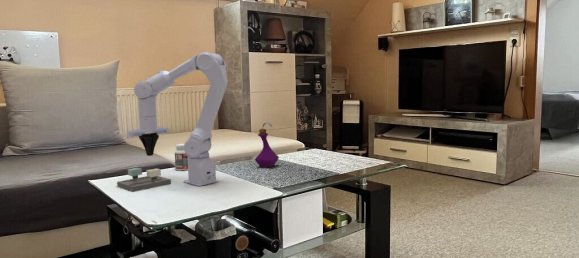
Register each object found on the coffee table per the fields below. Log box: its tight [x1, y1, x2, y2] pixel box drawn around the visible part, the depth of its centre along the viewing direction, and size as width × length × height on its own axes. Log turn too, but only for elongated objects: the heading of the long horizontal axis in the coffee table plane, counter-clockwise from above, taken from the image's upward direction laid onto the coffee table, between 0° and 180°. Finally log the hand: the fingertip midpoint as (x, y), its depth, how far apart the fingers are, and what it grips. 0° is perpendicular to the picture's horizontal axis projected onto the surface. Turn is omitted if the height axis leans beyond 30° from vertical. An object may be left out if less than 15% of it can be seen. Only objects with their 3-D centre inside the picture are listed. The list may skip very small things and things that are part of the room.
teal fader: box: [127, 167, 143, 179], centre depth 143 cm, size 3×4×3 cm
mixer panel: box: [116, 175, 172, 192], centre depth 141 cm, size 11×14×2 cm
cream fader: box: [146, 168, 162, 180], centre depth 141 cm, size 3×4×3 cm
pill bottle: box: [174, 143, 188, 172], centre depth 165 cm, size 6×6×10 cm
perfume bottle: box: [254, 121, 280, 169], centre depth 167 cm, size 8×8×18 cm
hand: (149, 155), depth 146 cm, fingers closed
